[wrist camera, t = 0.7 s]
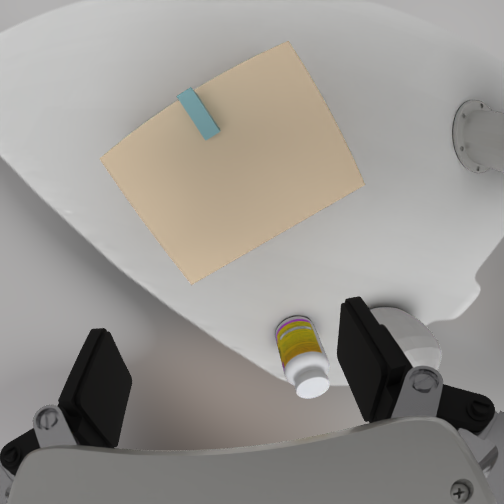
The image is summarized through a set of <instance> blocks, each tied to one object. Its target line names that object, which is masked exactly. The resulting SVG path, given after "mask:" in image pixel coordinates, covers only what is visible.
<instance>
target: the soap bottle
mask: <svg viewBox="0 0 504 504" xmlns="http://www.w3.org/2000/svg"><path fill="white" fill-rule="evenodd" d="M370 311H371V312H372V314H373V315H374V317H375V318H376V320H377V321H378V323H379V324H383V325H385V326H386V328H387V329H388V330H389V332H390V333H391V335H392V336H393V338H394V339H395V341H396V342H397V344H398V345H399V346H400V348H401V349H402V351H403V352H404V354H405V355H406V357H407V358H408V360H409V361H410V363H411V364H412V366H413V367H416V366H429V367H432V368H434V369H435V370H438V368H439V365H440V361H441V357H442V351H441V348H440V345H439V343H438V340H437V339H436V338H435V336H434V335H433V334H432V332H431V331H430V330H429V329H428V328H427V327H426V326H425V325H424V324H423V323H422V322H421V321H420V320H418V319H417V318H415V317H413V316H412V315H410V314H408V313H406V312H404V311H402V310H400V309H398V308H391V307H380V308H374V309H371V310H370Z"/></svg>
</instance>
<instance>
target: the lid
mask: <svg viewBox="0 0 504 504" xmlns="http://www.w3.org/2000/svg"><path fill="white" fill-rule="evenodd" d="M177 98H178V99H179V100H178V101H176V102H175V103H173V104H172V105H170V106H169V107H167V108H166V109H164V110H163V111H161V112H160V113H158V114H157V115H156V116H154V117H153V118H151V119H150V120H148V121H147V122H146V123H144V124H143V125H142V126H140V127H139V128H137V129H136V130H135V131H133V132H132V133H131V134H130V135H128V136H127V137H126V138H124V139H123V140H122V141H121V142H119V143H118V144H117V145H115V146H114V147H113V148H112V149H111V150H109V151H108V152H107V153H106V154H104V155H103V156H102V157H101V158H100V160H101V162H102V163H103V165H104V166H105V168H106V169H107V171H108V172H109V174H110V175H111V177H112V178H113V179H114V181H115V182H116V184H117V185H118V187H119V188H120V190H121V191H122V192H123V194H124V195H125V197H126V198H127V200H128V201H129V202H130V204H131V205H132V207H133V208H134V209H135V211H136V212H137V214H138V215H139V216H140V218H141V219H142V221H143V222H144V223H145V225H146V226H147V227H148V229H149V230H150V231H151V233H152V234H153V235H154V237H155V238H156V239H157V241H158V242H159V243H160V245H161V246H162V247H163V249H164V250H165V251H166V253H167V254H168V255H169V257H170V258H171V259H172V260H173V262H174V263H175V264H176V266H177V267H178V268H179V269H180V271H181V272H182V273H183V275H184V276H185V277H186V278H187V280H188V281H189V282H190V283H191V285H192V284H194V283H196V282H198V281H199V280H201V279H203V278H205V277H206V276H208V275H210V274H211V273H213V272H215V271H217V270H218V269H220V268H222V267H224V266H225V265H227V264H229V263H230V262H232V261H234V260H236V259H237V258H239V257H241V256H243V255H244V254H246V253H248V252H249V251H251V250H253V249H255V248H256V247H258V246H260V245H262V244H263V243H265V242H267V241H269V240H270V239H272V238H274V237H275V236H277V235H279V234H281V233H282V232H284V231H286V230H288V229H289V228H291V227H293V226H295V225H296V224H298V223H300V222H301V221H303V220H305V219H307V218H308V217H310V216H312V215H314V214H315V213H317V212H319V211H321V210H322V209H324V208H326V207H328V206H329V205H331V204H333V203H334V202H336V201H338V200H340V199H341V198H343V197H345V196H347V195H348V194H350V193H352V192H354V191H355V190H357V189H359V188H361V187H362V186H364V185H365V183H364V181H363V179H362V176H361V174H360V172H359V169H358V167H357V165H356V163H355V161H354V158H353V156H352V154H351V152H350V150H349V148H348V146H347V144H346V142H345V140H344V138H343V136H342V134H341V131H340V130H339V128H338V126H337V124H336V122H335V120H334V118H333V116H332V114H331V112H330V110H329V108H328V106H327V105H326V103H325V101H324V99H323V97H322V96H321V94H320V92H319V90H318V88H317V87H316V85H315V83H314V81H313V80H312V78H311V76H310V75H309V73H308V71H307V70H306V68H305V66H304V65H303V63H302V61H301V60H300V58H299V57H298V55H297V53H296V52H295V50H294V49H293V47H292V46H291V44H290V43H289V41H287V42H285V43H282V44H280V45H278V46H276V47H274V48H271V49H269V50H267V51H265V52H263V53H261V54H259V55H257V56H255V57H253V58H251V59H249V60H247V61H245V62H243V63H241V64H239V65H237V66H235V67H233V68H232V69H230V70H228V71H226V72H224V73H222V74H221V75H219V76H217V77H215V78H214V79H212V80H210V81H209V82H207V83H205V84H203V85H202V86H200V87H198V88H197V89H195V90H193V89H192V88H191V87H190V88H189V89H187V90H186V91H184V92H182V93H181V94H179V95H178V96H177Z"/></svg>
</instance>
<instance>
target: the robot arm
mask: <svg viewBox="0 0 504 504" xmlns="http://www.w3.org/2000/svg"><path fill="white" fill-rule="evenodd" d="M453 139H454V146H455V150H456V153H457V155H458V158H459V159H460V161H461V163H462V164H463V165H464V166H465V167H466V168H467V169H468V170H470V171H473V172H475V173H483V172H486V171H487V170H489V169H490V168H492V169H494V170H497V171H500V172H503V173H504V113H502V112H495V111H492V110H491V109H490V108H489V107H488V106H487V105H486V104H485V103H483V102H481V101H476V100H471V101H468V102H466V103H464V104H463V105H462V106H461V107H460V109H459V110H458V112H457V114H456V117H455V121H454V127H453ZM337 358H338V361H339V363H340V365H341V368H342V370H343V372H344V375H345V377H346V379H347V381H348V384H349V386H350V388H351V391H352V393H353V395H354V397H355V400H356V402H357V405H358V407H359V409H360V412H361V414H362V416H363V419H364V421H366V422H367V421H369V424H364V425H361V426H357V427H353V428H348V429H345V430H340V431H336V432H331V433H327V434H322V435H317V436H312V437H308V438H302V439H297V440H291V441H285V442H279V443H272V444H264V445H257V446H248V447H239V448H227V449H212V450H189V451H155V450H153V451H152V450H131V449H116V448H114V447H117V446H118V442H119V437H120V433H121V428H122V423H123V419H124V414H125V410H126V406H127V401H128V397H129V393H130V389H131V386H132V378H131V375H130V373H129V371H128V369H127V367H126V365H125V363H124V361H123V359H122V357H121V355H120V353H119V351H118V348H117V346H116V344H115V342H114V340H113V337H112V335H111V333H110V332H107V330H106V329H104V328H100V329H92V330H91V331H90V333H89V335H88V337H87V339H86V341H85V343H84V345H83V347H82V349H81V351H80V353H79V355H78V357H77V359H76V361H75V364H74V366H73V368H72V370H71V372H70V375H69V377H68V379H67V381H66V384H65V386H64V388H63V391H62V393H61V395H60V398H59V400H58V401H59V404H58V406H55V405H46V406H44V407H42V408H40V409H39V410H38V411H37V412H36V414H35V416H34V418H33V427H34V428H33V429H31V430H29V431H28V432H26V433H24V434H23V435H21V436H19V437H18V438H16V439H14V440H13V441H11V442H9V443H8V444H7V445H6V446H4V447H3V449H2V451H1V453H0V504H504V412H502V411H500V412H499V413H497V412H496V411H495V407H494V404H493V403H492V401H491V400H490V399H489V398H487V397H486V396H484V395H481V394H477V393H473V392H469V391H466V390H462V389H458V388H454V387H451V386H448V385H444V384H443V379H442V376H441V374H440V373H439V372H438V371H437V370H435V369H434V368H432V367H429V366H416V367H413V366H412V364H411V363H410V361H409V360H408V358H407V357H406V355H405V354H404V352H403V351H402V349H401V348H400V346H399V345H398V344H397V342H396V341H395V339H394V338H393V336H392V335H391V333H390V332H389V330H388V329H387V328H386V326H385V325H383V324H379V323H378V321H377V320H376V318H375V317H374V315H373V314H372V312H371V311H370V310H369V308H368V307H367V305H366V304H365V302H364V301H363V300H362V298H361V297H353V298H348V299H346V300H345V303H342V304H341V312H340V325H339V336H338V346H337Z"/></svg>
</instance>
